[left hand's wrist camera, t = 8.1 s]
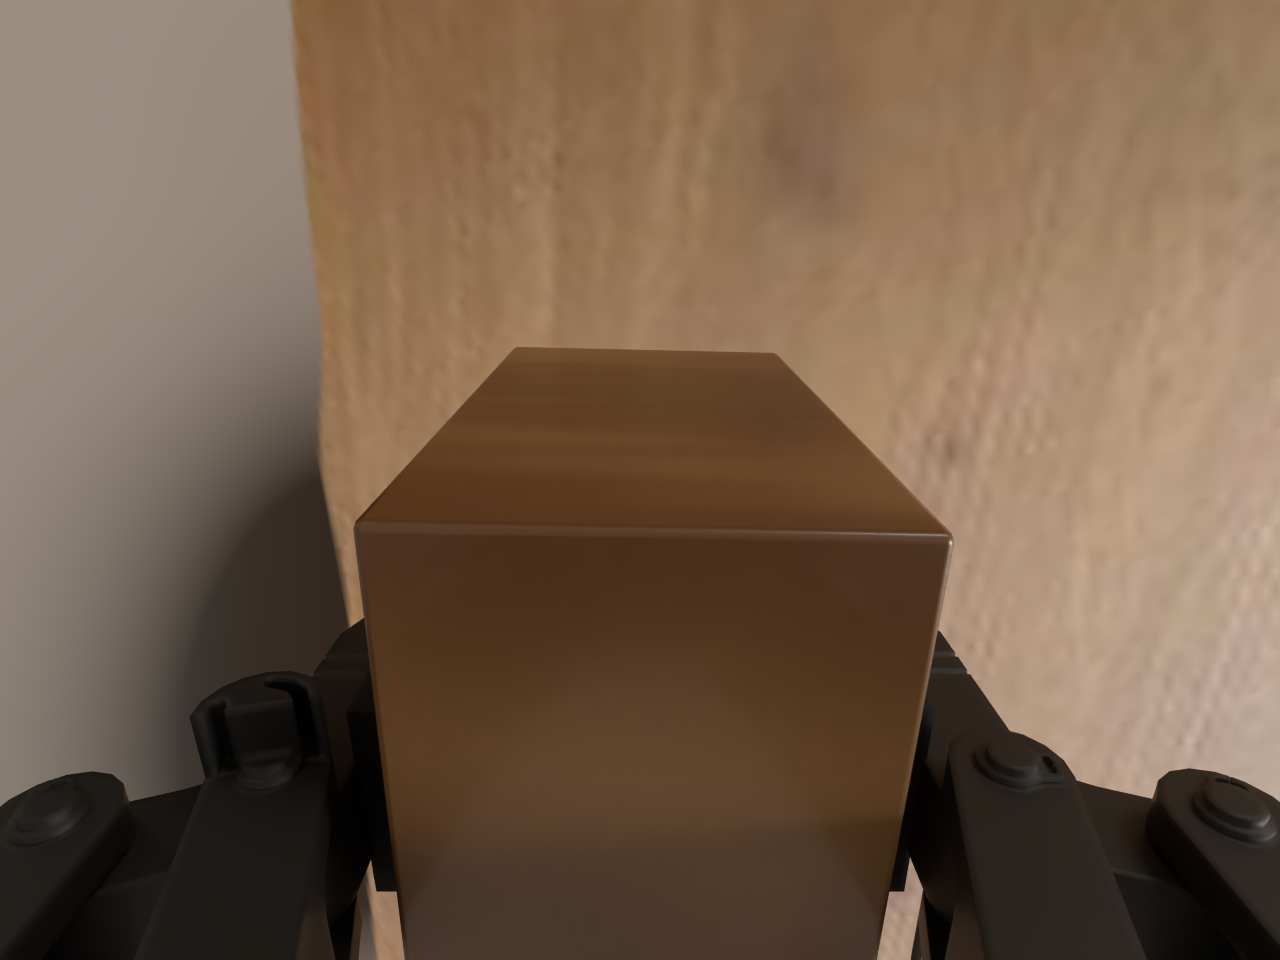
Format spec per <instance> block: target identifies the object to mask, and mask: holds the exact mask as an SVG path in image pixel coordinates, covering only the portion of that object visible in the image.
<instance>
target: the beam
mask: <svg viewBox="0 0 1280 960" xmlns="http://www.w3.org/2000/svg"><path fill="white" fill-rule="evenodd" d="M354 537H355V545H356V554H357V562H358V571H359V579H360V587H361V596H362V604H363V613H364V621H365V629H366V638H367V646H368V654H369V663H370V671H371V680H372V688H373V696H374V705H375V713H376V722H377V730H378V738H379V747H380V755H381V764H382V772H383V780H384V789H385V797H386V806H387V814H388V822H389V831H390V839H391V848H392V856H393V864H394V873H395V881H396V890H397V898H398V906H399V915H400V923H401V931H402V940H403V948H404V957H405V960H877V955H878V949H879V944H880V939H881V933H882V928H883V922H884V917H885V912H886V906H887V901H888V895H889V890H890V885H891V879H892V874H893V869H894V863H895V858H896V852H897V847H898V842H899V836H900V831H901V825H902V820H903V815H904V809H905V804H906V798H907V793H908V788H909V782H910V777H911V771H912V766H913V761H914V755H915V750H916V745H917V739H918V734H919V728H920V723H921V718H922V712H923V707H924V701H925V696H926V691H927V685H928V680H929V674H930V669H931V664H932V658H933V653H934V648H935V642H936V637H937V631H938V626H939V621H940V615H941V610H942V604H943V599H944V594H945V588H946V583H947V577H948V572H949V567H950V561H951V556H952V550H953V545H954V541H953V537H952V534H951V532H950V531H949V530H948V529H947V528H946V527H945V526H944V525H943V524H942V523H941V522H940V521H939V520H938V519H937V518H936V517H935V516H934V515H933V514H932V513H931V512H930V511H929V510H928V509H927V508H926V507H925V506H924V505H923V504H922V503H921V502H920V501H919V500H918V499H917V498H916V497H915V496H914V495H913V494H912V492H911V491H910V490H909V489H908V488H907V487H906V486H905V485H904V484H903V483H902V482H901V481H900V480H899V479H898V478H897V477H896V476H895V475H894V474H893V473H892V472H891V471H890V470H889V469H888V468H887V467H886V466H885V465H884V464H883V463H882V462H881V461H880V460H879V459H878V458H877V457H876V456H875V455H874V453H873V452H872V451H871V450H870V449H869V448H868V447H867V446H866V445H865V444H864V443H863V442H862V441H861V440H860V439H859V438H858V437H857V436H856V435H855V434H854V433H853V432H852V431H851V430H850V429H849V428H848V427H847V426H846V425H845V424H844V423H843V422H842V421H841V420H840V419H839V418H838V417H837V416H836V415H835V413H834V412H833V411H832V410H831V409H830V408H829V407H828V406H827V405H826V404H825V403H824V402H823V401H822V400H821V399H820V398H819V397H818V396H817V395H816V394H815V393H814V392H813V391H812V390H811V389H810V388H809V387H808V386H807V385H806V384H805V383H804V382H803V381H802V380H801V379H800V378H799V377H798V376H797V375H796V373H795V372H794V371H793V370H792V369H791V368H790V367H789V366H788V365H787V364H786V363H785V362H784V361H783V360H782V359H781V358H780V357H779V356H778V355H777V354H775V353H749V352H706V351H662V350H619V349H576V348H533V347H517V348H515V349H513V351H512V352H511V353H510V354H509V355H508V356H507V357H506V358H505V359H504V360H503V361H502V363H501V364H500V365H499V366H498V367H497V368H496V369H495V370H494V371H493V372H492V373H491V375H490V376H489V377H488V378H487V379H486V380H485V381H484V382H483V383H482V384H481V385H480V387H479V388H478V389H477V390H476V391H475V392H474V393H473V394H472V395H471V396H470V397H469V399H468V400H467V401H466V402H465V403H464V404H463V405H462V406H461V407H460V408H459V409H458V411H457V412H456V413H455V414H454V415H453V416H452V417H451V418H450V419H449V420H448V421H447V423H446V424H445V425H444V426H443V427H442V428H441V429H440V430H439V431H438V432H437V433H436V435H435V436H434V437H433V438H432V439H431V440H430V441H429V442H428V443H427V444H426V445H425V447H424V448H423V449H422V450H421V451H420V452H419V453H418V454H417V455H416V456H415V457H414V459H413V460H412V461H411V462H410V463H409V464H408V465H407V466H406V467H405V468H404V469H403V471H402V472H401V473H400V474H399V475H398V476H397V477H396V478H395V479H394V480H393V481H392V483H391V484H390V485H389V486H388V487H387V488H386V489H385V490H384V491H383V492H382V493H381V495H380V496H379V497H378V498H377V499H376V500H375V501H374V502H373V503H372V504H371V505H370V507H369V508H368V509H367V510H366V511H365V512H364V513H363V514H362V515H361V516H360V517H359V519H358V520H357V521H356V523H355V526H354Z"/></svg>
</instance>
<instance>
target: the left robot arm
mask: <svg viewBox="0 0 1280 960" xmlns="http://www.w3.org/2000/svg"><path fill="white" fill-rule="evenodd" d="M190 720H191V724H192V728H193V732H194V736H195V740H196V743H197V747H198V751H199V755H200V758H201V762H202V766H203V770H204V774H205V780H204V782H203V784H201V785H198V786H194V787H191V788H188V789H184V790H180V791H175V792H171V793H166V794H162V795H157V796H153V797H148V798H144V799H140V800H135V801H131V802H129V800H128V797H127V794H126V791H125V787H124V784H123V783H122V782H121V781H120V780H118V779H117V778H116V777H115V776H114V775H112V774H106V773H100V772H85V773H77V774H70V775H65V776H62V777H59V778H55V779H53V780H49V781H46V782H44V783H41V784H38V785H36V786H34V787H32V788H31V789H29V790H27V791H25V792H23V793H21V794H19V795H17V796H15V797H13V798H12V799H10V800H8V801H7V802H6V803H4V804H3V805H2V806H1V807H0V960H358V957H359V947H360V936H361V926H362V918H361V911H360V905H359V899H358V894H357V892H358V890H359V887H360V885H361V882H362V880H363V877H364V875H365V872H366V870H367V868H368V865H369V863H370V860H371V862H372V868H373V874H374V880H375V886H376V891H397V890H396V881H395V873H394V864H393V856H392V848H391V839H390V831H389V822H388V814H387V806H386V797H385V789H384V780H383V772H382V764H381V755H380V747H379V738H378V730H377V722H376V713H375V705H374V696H373V688H372V680H371V671H370V663H369V654H368V646H367V638H366V629H365V621H364V618H363V619H362V620H360V621H359V622H357V623H356V624H355V625H353V626H352V627H350V628H349V629H347V630H346V631H345V632H343V633H342V634H340V636H339V637H338V639H337V640H336V641H335V643H334V644H333V646H332V647H331V649H330V650H329V652H328V653H327V654H326V659H323V660H322V662H321V663H320V665H319V666H318V667H317V669H316V670H315V672H314V677H310V676H308V675H305V674H301V673H296V672H292V671H283V672H267V673H263V674H258V675H254V676H250V677H246V678H242V679H240V680H238V681H236V682H233V683H231V684H229V685H226V686H224V687H222V688H220V689H219V690H217V691H216V692H214V693H213V694H211V695H210V696H209V697H207V698H206V699H204V700H203V701H201V703H200V704H199V705H198V707H197V708H196V709H195V710H194V712H193V713H192V714H191V715H190ZM910 858H911V860H912V863H913V865H914V868H915V870H916V872H917V875H918V877H919V880H920V882H921V885H922V887H923V894H922V899H921V905H920V910H919V916H918V921H917V927H916V932H915V938H914V943H913V948H912V955H911V960H921V958H922V960H1280V802H1279V801H1278V800H1276V799H1275V798H1274V797H1272V796H1271V795H1269V794H1267V793H1265V792H1263V791H1261V790H1259V789H1257V788H1255V787H1253V786H1251V785H1250V784H1248V783H1246V782H1244V781H1241V780H1238V779H1236V778H1233V777H1229V776H1227V775H1223V774H1220V773H1217V772H1212V771H1204V770H1197V769H1190V768H1189V769H1182V770H1175V771H1169V772H1168V773H1167V774H1166V775H1164V776H1163V777H1162V778H1161V779H1159V780H1158V783H1157V786H1156V790H1155V793H1154V796H1153V799H1150V798H1146V797H1141V796H1137V795H1132V794H1128V793H1123V792H1119V791H1114V790H1110V789H1105V788H1101V787H1097V786H1093V785H1090V784H1086V783H1083V782H1080V781H1076V779H1075V776H1074V775H1073V773H1072V772H1071V770H1070V769H1069V767H1068V766H1067V764H1066V763H1065V761H1064V760H1063V759H1061V758H1060V757H1059V756H1058V755H1056V754H1055V753H1054V752H1053V751H1051V750H1050V749H1049V748H1048V747H1046V746H1045V745H1043V744H1041V743H1039V742H1037V741H1035V740H1033V739H1031V738H1029V737H1027V736H1025V735H1022V734H1019V733H1015V732H1011V731H1009V729H1008V728H1007V727H1006V725H1005V724H1004V722H1003V721H1002V719H1001V718H1000V717H999V715H998V714H997V712H996V711H995V709H994V708H993V707H992V705H991V704H990V702H989V701H988V699H987V698H986V696H985V695H984V694H983V692H982V691H981V689H980V688H979V686H978V685H977V684H976V682H975V681H974V679H973V678H972V676H971V675H970V674H967V669H966V668H965V666H964V665H963V664H962V662H961V661H960V659H959V658H958V657H955V652H954V651H953V649H952V648H951V646H950V645H949V644H948V642H947V641H946V639H945V638H944V636H943V635H942V634H941V632H940V631H937V637H936V642H935V648H934V653H933V658H932V664H931V669H930V674H929V680H928V685H927V691H926V696H925V701H924V707H923V712H922V718H921V723H920V728H919V734H918V739H917V745H916V750H915V755H914V761H913V766H912V771H911V777H910V782H909V788H908V793H907V798H906V804H905V809H904V815H903V820H902V825H901V831H900V836H899V842H898V847H897V852H896V858H895V863H894V869H893V874H892V879H891V885H890V890H889V891H904V889H905V883H906V877H907V871H908V865H909V859H910Z"/></svg>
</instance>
